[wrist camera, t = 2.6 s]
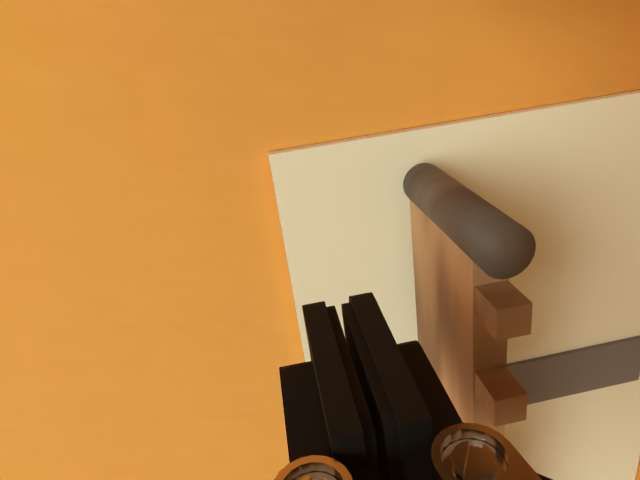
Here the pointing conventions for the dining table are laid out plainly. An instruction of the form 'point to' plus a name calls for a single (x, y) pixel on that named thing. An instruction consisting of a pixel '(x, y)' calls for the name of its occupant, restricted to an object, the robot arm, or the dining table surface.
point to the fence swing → (468, 294)
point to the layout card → (534, 282)
